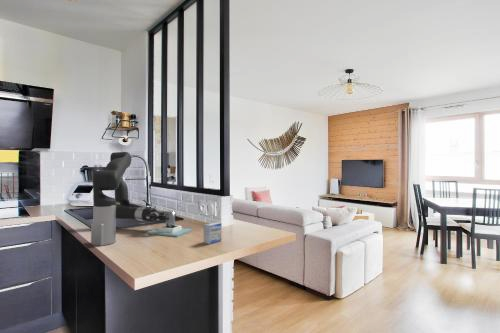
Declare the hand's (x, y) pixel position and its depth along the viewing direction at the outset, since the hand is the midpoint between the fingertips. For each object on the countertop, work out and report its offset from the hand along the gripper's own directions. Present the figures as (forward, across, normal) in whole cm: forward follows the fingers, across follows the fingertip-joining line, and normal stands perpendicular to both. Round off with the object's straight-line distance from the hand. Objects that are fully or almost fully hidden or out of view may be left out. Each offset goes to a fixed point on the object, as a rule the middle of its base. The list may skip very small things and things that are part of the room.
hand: (170, 216), depth 149 cm
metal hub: (0, 0, +7) cm, 7 cm away
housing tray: (0, 0, +8) cm, 9 cm away
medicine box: (+29, -8, +9) cm, 31 cm away
